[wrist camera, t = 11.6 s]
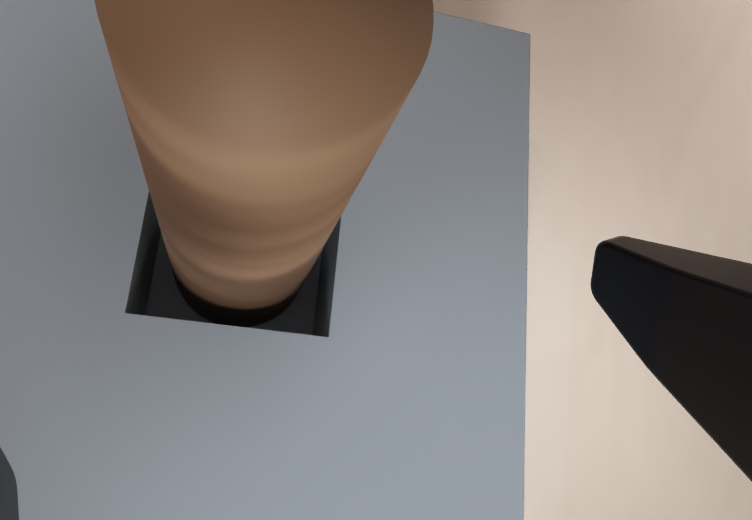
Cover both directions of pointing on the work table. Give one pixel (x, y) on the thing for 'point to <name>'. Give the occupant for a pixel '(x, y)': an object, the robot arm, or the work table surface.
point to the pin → (258, 129)
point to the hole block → (281, 334)
